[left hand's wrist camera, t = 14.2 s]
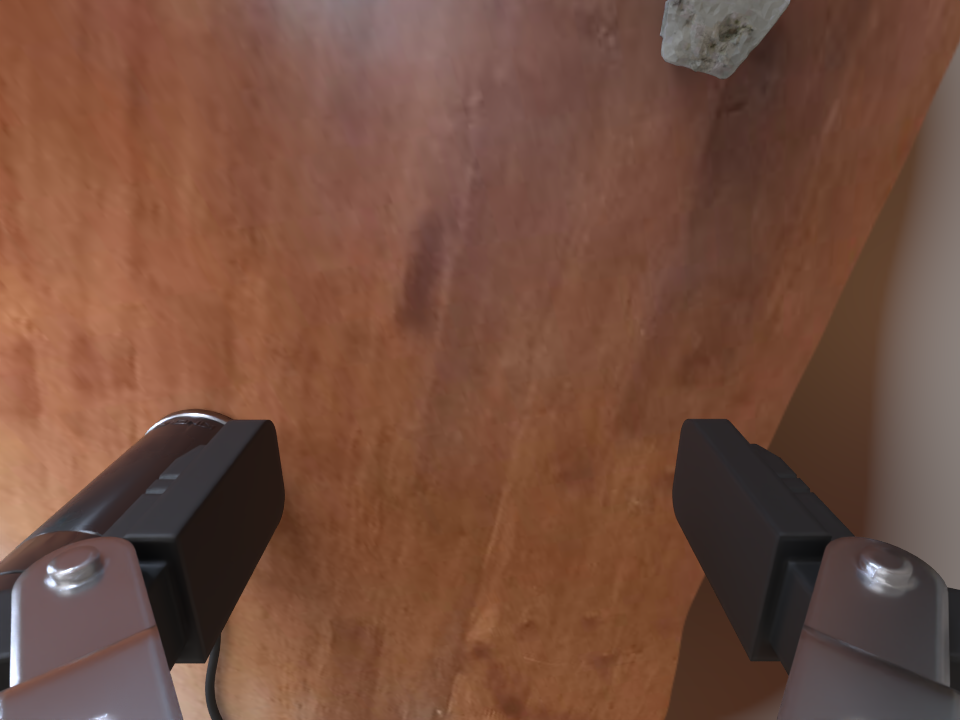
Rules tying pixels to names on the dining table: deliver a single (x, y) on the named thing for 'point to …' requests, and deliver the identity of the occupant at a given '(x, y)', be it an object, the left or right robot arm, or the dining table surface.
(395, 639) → the dining table surface
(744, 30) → the mineral specimen
